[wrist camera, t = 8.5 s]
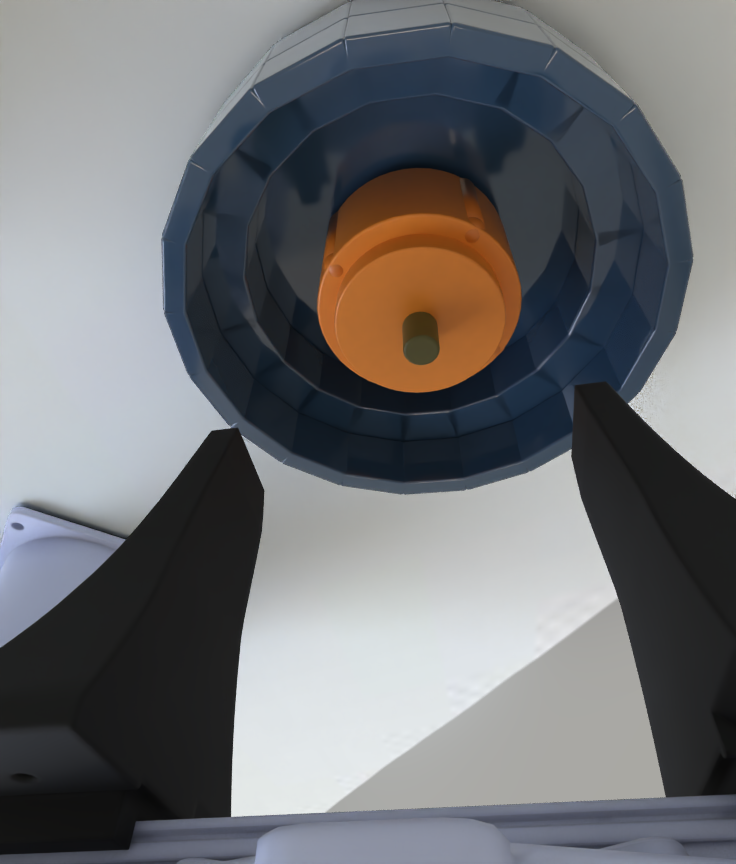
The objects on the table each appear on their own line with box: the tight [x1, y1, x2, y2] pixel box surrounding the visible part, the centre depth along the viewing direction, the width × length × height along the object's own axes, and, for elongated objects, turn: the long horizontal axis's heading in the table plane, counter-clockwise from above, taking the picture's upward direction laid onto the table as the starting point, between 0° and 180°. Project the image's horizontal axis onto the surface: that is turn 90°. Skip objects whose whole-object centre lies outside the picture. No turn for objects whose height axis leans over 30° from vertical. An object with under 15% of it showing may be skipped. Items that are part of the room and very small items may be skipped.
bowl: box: [161, 0, 693, 495], centre depth 18 cm, size 13×13×4 cm
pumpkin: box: [317, 168, 522, 393], centre depth 18 cm, size 6×6×5 cm
